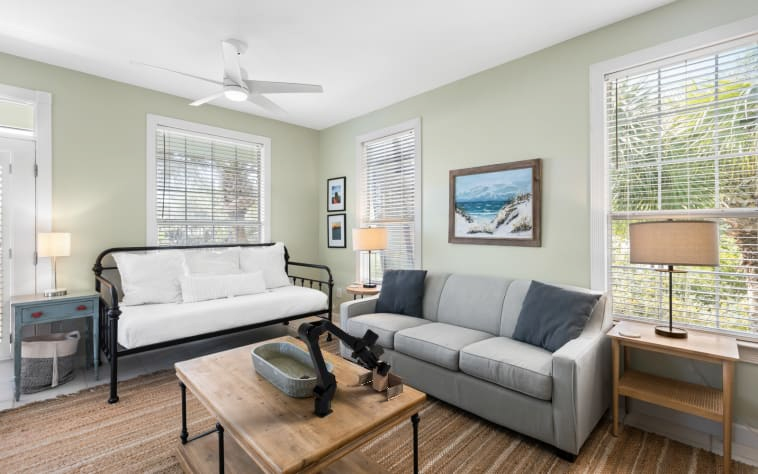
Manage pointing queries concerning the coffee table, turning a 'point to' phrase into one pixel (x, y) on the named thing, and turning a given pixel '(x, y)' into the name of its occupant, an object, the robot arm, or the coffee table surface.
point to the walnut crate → (393, 383)
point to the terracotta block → (379, 381)
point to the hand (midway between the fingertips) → (382, 373)
